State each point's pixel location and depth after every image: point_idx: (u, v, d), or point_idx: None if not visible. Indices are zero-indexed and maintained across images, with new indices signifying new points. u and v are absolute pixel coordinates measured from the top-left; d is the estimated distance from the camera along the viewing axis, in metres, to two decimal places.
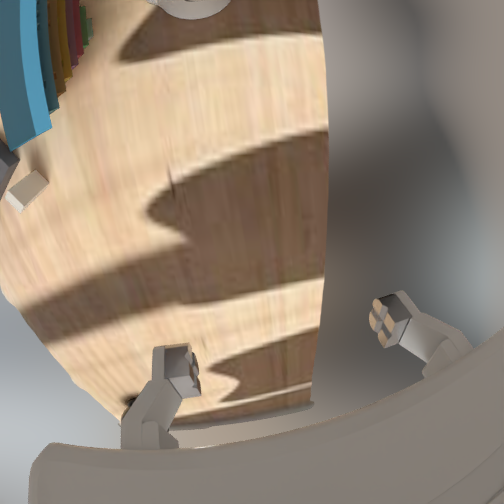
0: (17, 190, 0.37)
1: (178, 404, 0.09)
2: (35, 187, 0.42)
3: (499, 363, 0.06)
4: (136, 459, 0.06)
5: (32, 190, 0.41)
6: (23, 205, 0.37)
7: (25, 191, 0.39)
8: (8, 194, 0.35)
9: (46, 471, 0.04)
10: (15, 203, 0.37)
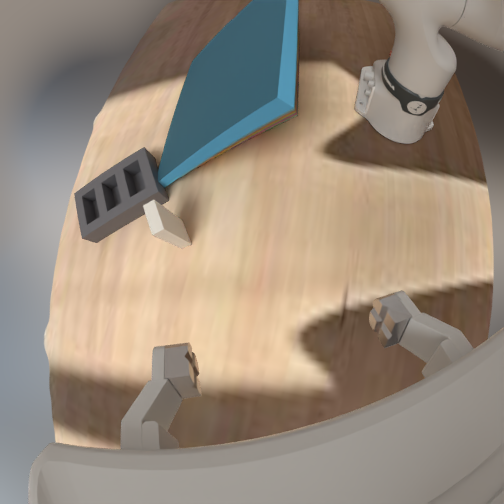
0: (162, 211, 0.40)
1: (178, 404, 0.09)
2: (179, 231, 0.45)
3: (499, 363, 0.06)
4: (136, 459, 0.06)
5: (175, 229, 0.43)
6: (163, 227, 0.38)
7: (169, 221, 0.42)
8: (151, 204, 0.39)
9: (46, 471, 0.04)
10: (153, 219, 0.38)
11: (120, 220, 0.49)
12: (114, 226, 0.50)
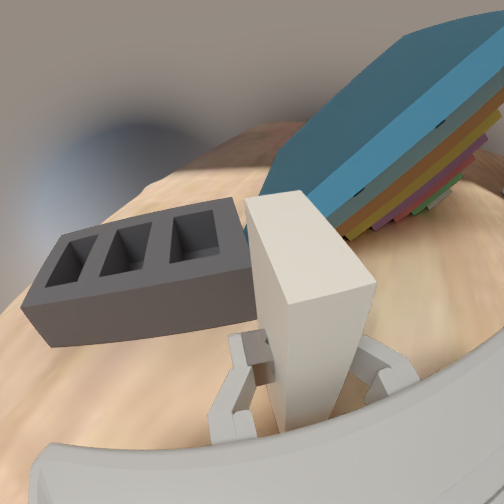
0: None
1: (253, 392, 0.10)
2: None
3: (499, 362, 0.06)
4: (136, 459, 0.06)
5: None
6: (369, 274, 0.06)
7: None
8: (287, 197, 0.09)
9: (46, 471, 0.04)
10: (297, 239, 0.07)
11: (121, 315, 0.18)
12: (99, 326, 0.18)
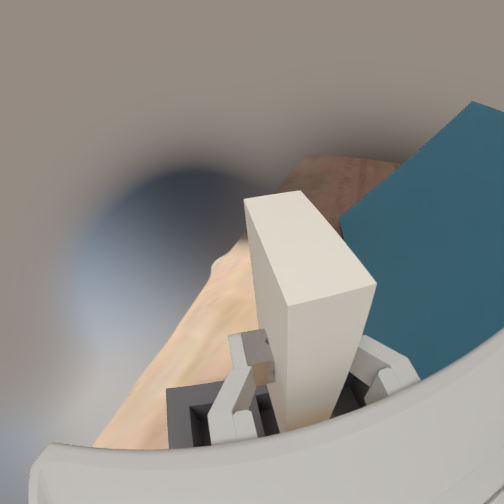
0: None
1: (253, 392, 0.10)
2: None
3: (499, 363, 0.06)
4: (136, 459, 0.06)
5: None
6: (369, 276, 0.06)
7: None
8: (286, 198, 0.09)
9: (46, 471, 0.04)
10: (296, 240, 0.07)
11: None
12: None
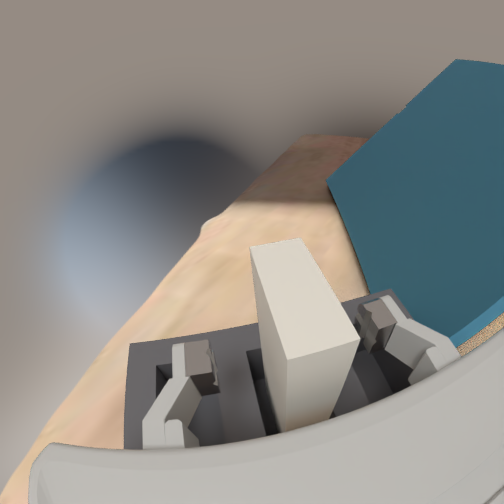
0: None
1: (197, 402, 0.10)
2: None
3: (499, 363, 0.06)
4: (136, 459, 0.06)
5: None
6: (355, 331, 0.07)
7: None
8: (288, 247, 0.10)
9: (46, 471, 0.04)
10: (296, 296, 0.08)
11: None
12: None
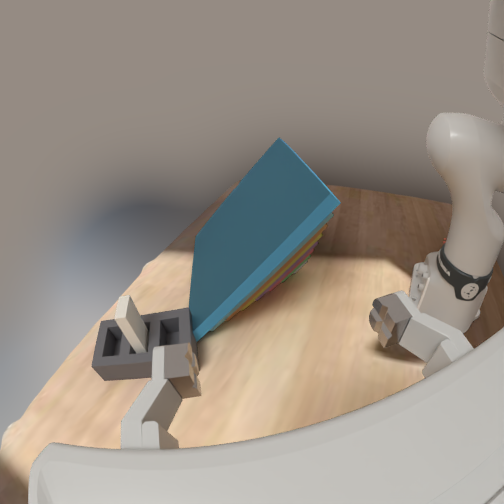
0: (133, 309, 0.42)
1: (178, 404, 0.09)
2: (142, 338, 0.43)
3: (499, 363, 0.06)
4: (136, 459, 0.06)
5: (139, 333, 0.42)
6: (125, 315, 0.38)
7: (135, 321, 0.42)
8: (125, 297, 0.42)
9: (46, 471, 0.04)
10: (120, 308, 0.40)
11: (140, 369, 0.41)
12: (130, 373, 0.42)
